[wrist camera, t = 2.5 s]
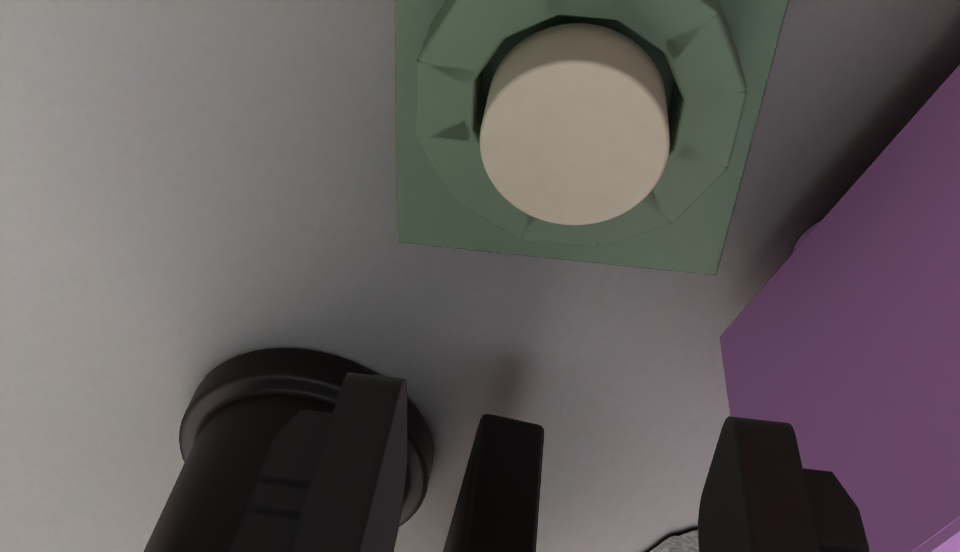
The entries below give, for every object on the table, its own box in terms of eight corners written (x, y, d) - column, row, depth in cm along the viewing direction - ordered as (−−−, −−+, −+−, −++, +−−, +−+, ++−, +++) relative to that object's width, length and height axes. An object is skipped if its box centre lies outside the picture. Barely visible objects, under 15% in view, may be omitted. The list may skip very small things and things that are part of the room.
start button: (650, 188, 20) (653, 235, 18) (484, 171, 20) (475, 217, 19) (680, 30, 18) (686, 70, 16) (493, 13, 18) (483, 51, 16)
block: (710, 236, 24) (723, 324, 21) (408, 205, 25) (383, 287, 22) (815, -180, 18) (852, -132, 15) (407, -211, 18) (372, -170, 16)
